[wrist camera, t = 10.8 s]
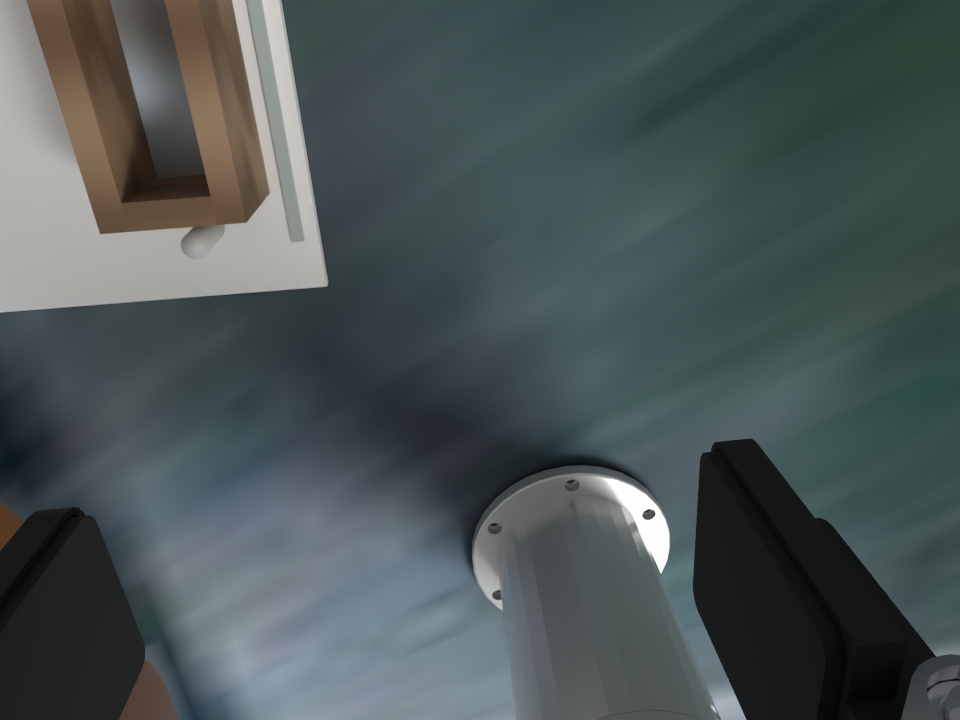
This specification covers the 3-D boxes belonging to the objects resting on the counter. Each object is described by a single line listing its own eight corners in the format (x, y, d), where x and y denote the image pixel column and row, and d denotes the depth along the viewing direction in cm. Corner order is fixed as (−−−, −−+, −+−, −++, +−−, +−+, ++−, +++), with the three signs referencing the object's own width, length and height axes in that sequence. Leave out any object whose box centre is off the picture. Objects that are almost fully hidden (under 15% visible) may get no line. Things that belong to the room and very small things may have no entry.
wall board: (328, 282, 37) (319, 309, 34) (-47, 312, 36) (-93, 342, 33) (236, -267, 27) (211, -302, 24) (-285, -238, 26) (-384, -271, 23)
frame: (269, 193, 34) (246, 222, 30) (142, 203, 34) (100, 234, 29) (199, -167, 28) (155, -198, 23) (41, -157, 27) (-33, -187, 23)
